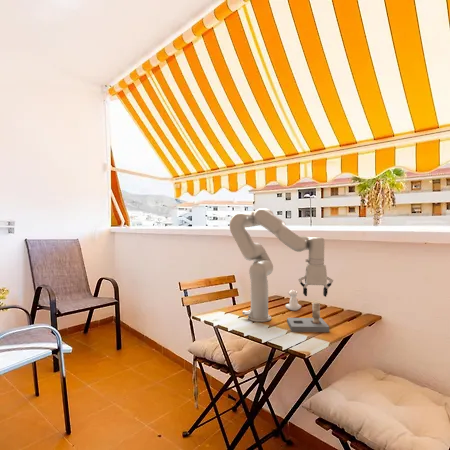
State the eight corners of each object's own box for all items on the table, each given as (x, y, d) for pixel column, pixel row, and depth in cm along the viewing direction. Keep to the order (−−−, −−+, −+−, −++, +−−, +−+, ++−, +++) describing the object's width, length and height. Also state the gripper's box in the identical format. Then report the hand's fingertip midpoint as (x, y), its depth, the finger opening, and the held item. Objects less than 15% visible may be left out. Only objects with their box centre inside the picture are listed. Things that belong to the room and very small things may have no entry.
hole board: (291, 331, 155) (291, 326, 155) (287, 322, 169) (287, 317, 169) (329, 332, 154) (329, 326, 154) (321, 322, 168) (321, 317, 168)
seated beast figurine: (301, 307, 197) (301, 288, 197) (302, 311, 188) (302, 291, 188) (285, 307, 198) (285, 287, 198) (286, 311, 190) (286, 290, 190)
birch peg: (313, 328, 159) (313, 304, 159) (311, 325, 163) (311, 302, 163) (320, 328, 159) (320, 304, 159) (318, 326, 163) (318, 302, 163)
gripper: (300, 262, 157) (299, 297, 158) (335, 263, 157) (334, 298, 157) (297, 260, 165) (296, 293, 165) (331, 261, 164) (330, 294, 165)
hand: (315, 295), depth 161 cm, fingers open, 9 cm apart
